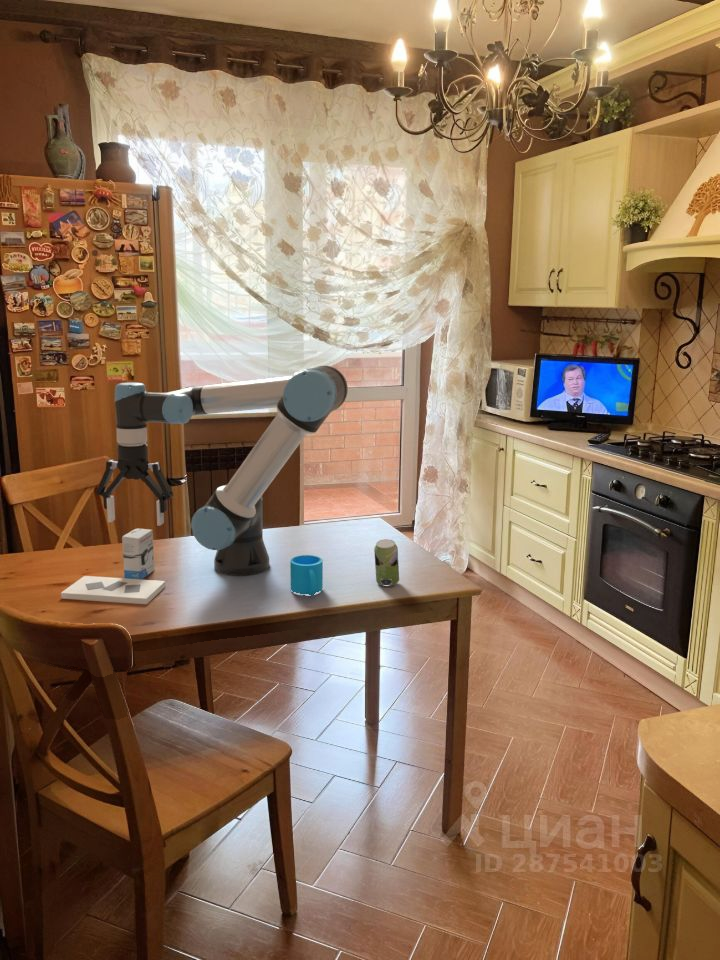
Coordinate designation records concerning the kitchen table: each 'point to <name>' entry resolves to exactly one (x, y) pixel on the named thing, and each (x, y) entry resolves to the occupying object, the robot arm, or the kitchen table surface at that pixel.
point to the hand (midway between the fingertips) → (135, 522)
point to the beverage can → (386, 562)
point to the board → (114, 590)
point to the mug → (306, 574)
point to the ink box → (138, 553)
